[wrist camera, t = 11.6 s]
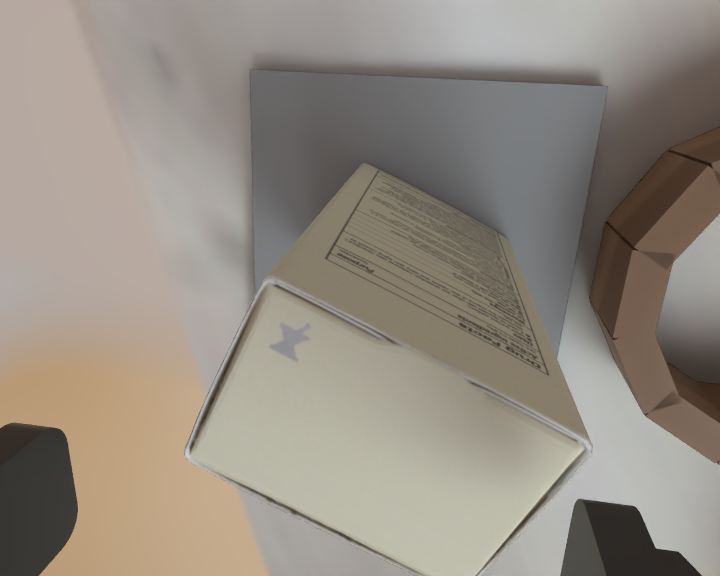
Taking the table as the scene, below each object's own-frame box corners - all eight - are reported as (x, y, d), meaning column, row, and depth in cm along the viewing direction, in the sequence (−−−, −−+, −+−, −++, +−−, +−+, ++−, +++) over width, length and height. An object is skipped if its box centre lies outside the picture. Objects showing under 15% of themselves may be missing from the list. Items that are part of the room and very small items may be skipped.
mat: (545, 400, 23) (547, 408, 22) (261, 364, 25) (256, 371, 24) (603, 86, 19) (608, 86, 18) (255, 69, 20) (249, 69, 20)
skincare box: (313, 258, 22) (158, 455, 10) (364, 156, 20) (245, 260, 9) (459, 337, 22) (463, 614, 11) (521, 242, 20) (605, 453, 9)
